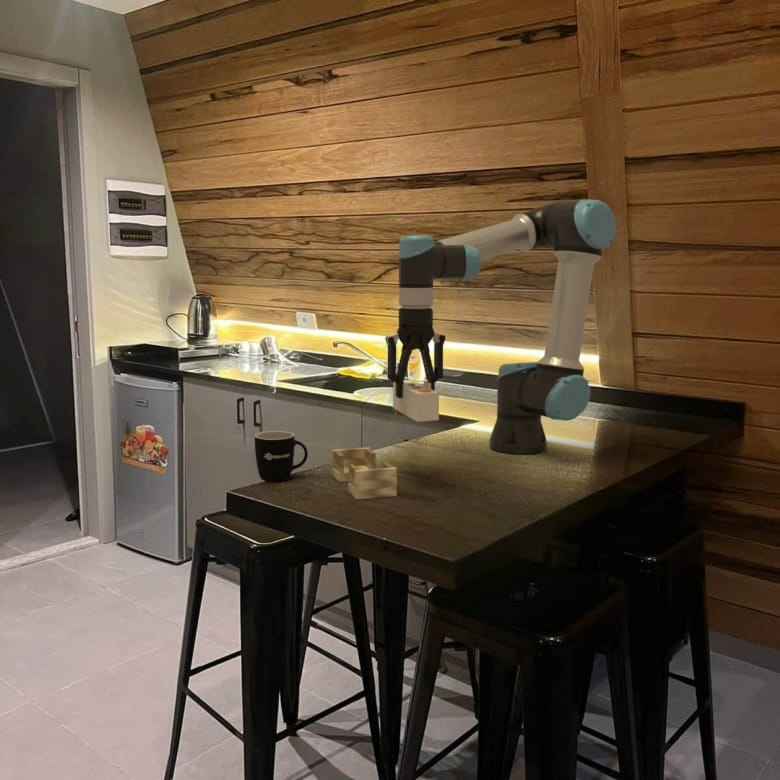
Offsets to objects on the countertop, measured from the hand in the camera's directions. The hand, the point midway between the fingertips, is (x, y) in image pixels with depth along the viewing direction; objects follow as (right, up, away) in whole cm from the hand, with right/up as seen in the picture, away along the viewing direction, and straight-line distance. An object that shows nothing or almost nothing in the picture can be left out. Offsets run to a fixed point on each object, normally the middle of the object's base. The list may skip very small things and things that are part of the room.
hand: (415, 411), depth 178 cm
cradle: (-12, -16, -1) cm, 20 cm away
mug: (-30, -16, +4) cm, 34 cm away
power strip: (0, -1, 0) cm, 1 cm away
